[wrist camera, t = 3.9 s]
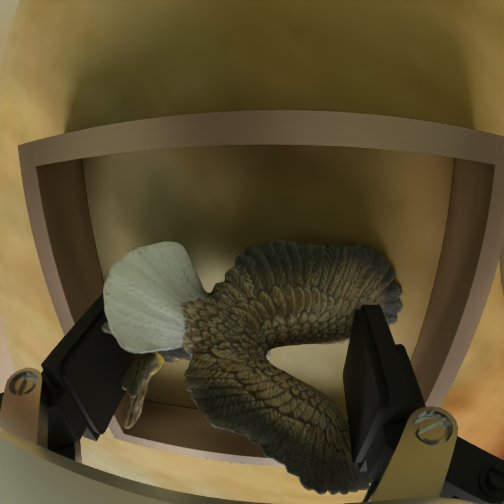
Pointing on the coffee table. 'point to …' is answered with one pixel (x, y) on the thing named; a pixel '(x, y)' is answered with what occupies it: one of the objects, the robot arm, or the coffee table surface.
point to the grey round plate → (502, 265)
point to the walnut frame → (281, 133)
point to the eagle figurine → (251, 342)
